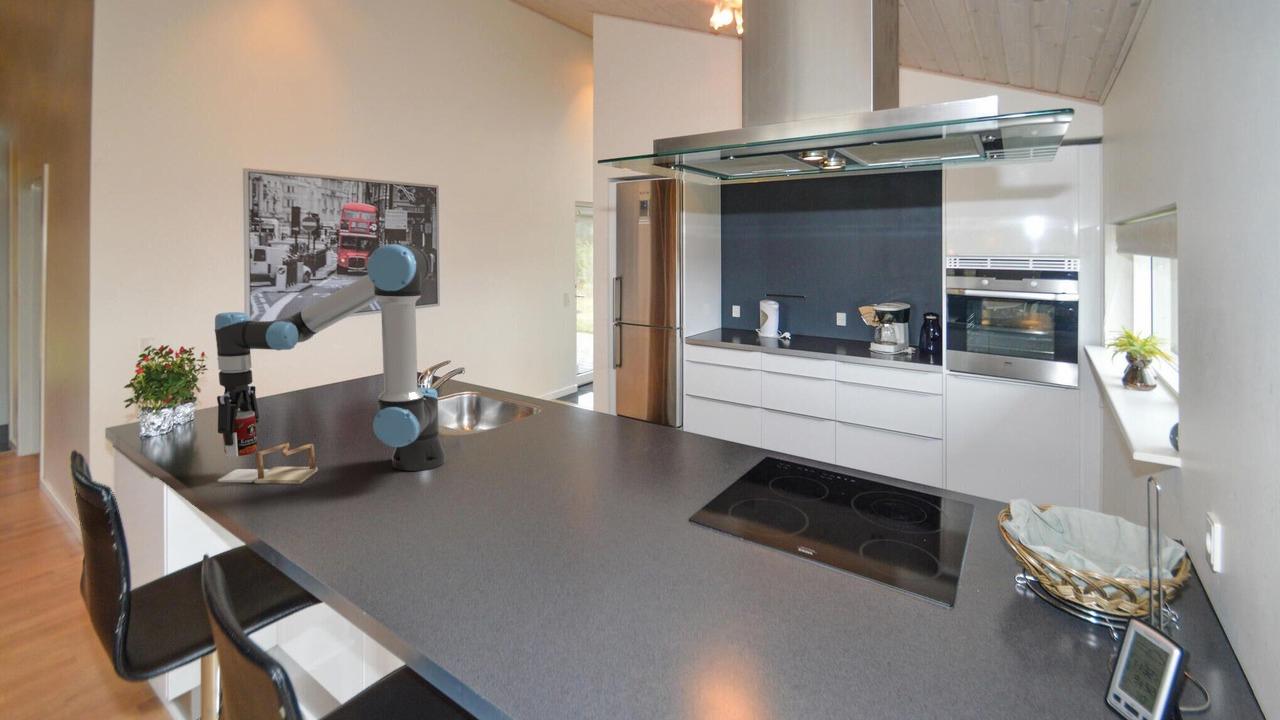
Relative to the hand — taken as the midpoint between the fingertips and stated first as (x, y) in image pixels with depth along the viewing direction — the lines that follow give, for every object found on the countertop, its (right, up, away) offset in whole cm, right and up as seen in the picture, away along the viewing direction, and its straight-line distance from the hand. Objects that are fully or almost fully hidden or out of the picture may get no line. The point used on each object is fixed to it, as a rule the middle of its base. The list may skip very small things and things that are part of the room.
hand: (241, 451), depth 171 cm
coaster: (0, -7, +1) cm, 7 cm away
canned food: (0, 0, 0) cm, 0 cm away
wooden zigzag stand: (+11, -7, +2) cm, 14 cm away
